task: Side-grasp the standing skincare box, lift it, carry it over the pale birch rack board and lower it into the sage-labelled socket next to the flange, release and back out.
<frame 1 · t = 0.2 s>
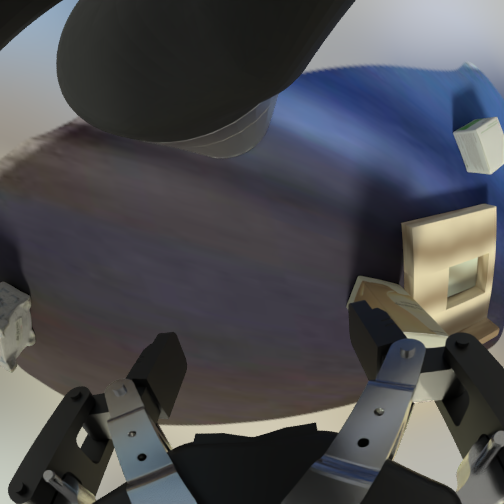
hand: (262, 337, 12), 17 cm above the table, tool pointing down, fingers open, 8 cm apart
skincare box: (371, 294, 31), on the table
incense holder: (24, 311, 33), on the table
small box: (470, 144, 25), on the table
rack: (448, 278, 30), on the table
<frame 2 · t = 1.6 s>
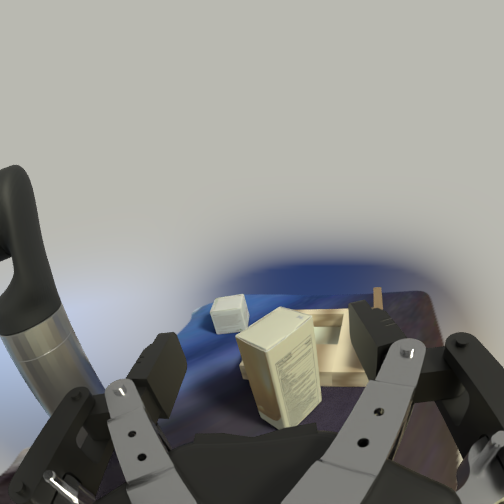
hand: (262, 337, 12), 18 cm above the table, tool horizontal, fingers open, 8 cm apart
skincare box: (290, 411, 27), on the table
small box: (233, 326, 50), on the table
rack: (319, 349, 37), on the table
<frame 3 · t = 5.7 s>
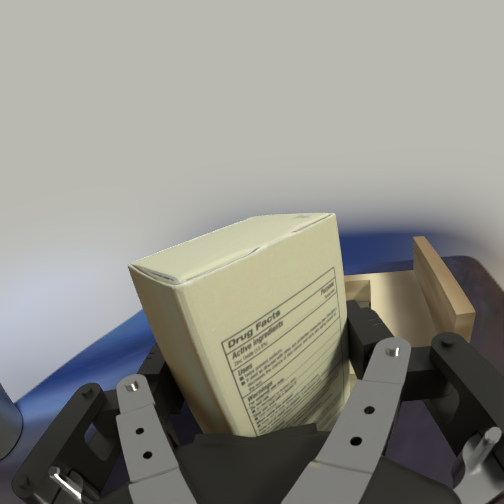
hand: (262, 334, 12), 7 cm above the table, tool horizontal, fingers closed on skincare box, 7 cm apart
skincare box: (286, 455, 12), on the table, touching gripper
rack: (336, 336, 22), on the table
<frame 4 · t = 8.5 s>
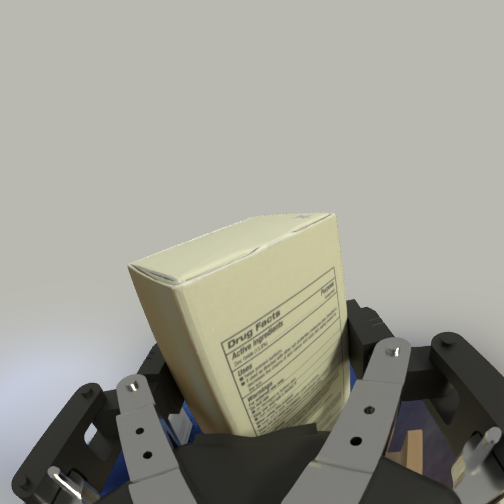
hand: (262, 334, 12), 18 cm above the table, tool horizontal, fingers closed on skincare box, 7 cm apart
skincare box: (286, 455, 12), point 11 cm above the table, touching gripper
small box: (167, 441, 26), on the table
when the fingers open (10 cm above the table, at t = 11.5 s): skincare box stays where it is, resting on rack.
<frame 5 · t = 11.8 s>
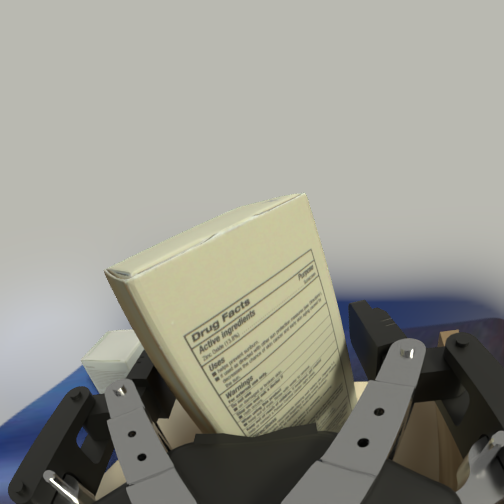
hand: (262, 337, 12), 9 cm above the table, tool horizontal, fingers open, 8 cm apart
skincare box: (296, 454, 11), point 2 cm above the table, touching gripper, rack
small box: (136, 385, 23), on the table
rack: (284, 493, 10), on the table
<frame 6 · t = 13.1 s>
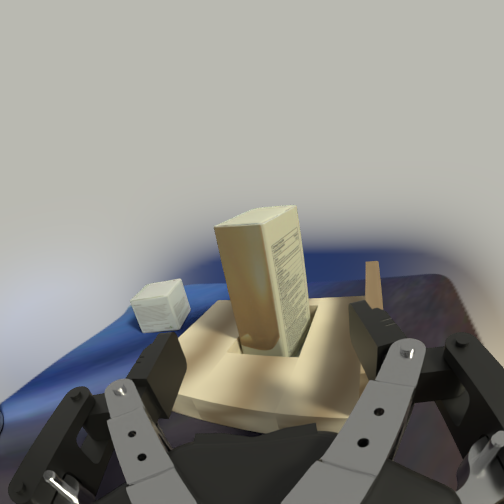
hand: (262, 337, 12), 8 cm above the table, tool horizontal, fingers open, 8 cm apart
skincare box: (279, 346, 25), resting on rack
small box: (167, 323, 35), on the table
rack: (274, 363, 22), on the table
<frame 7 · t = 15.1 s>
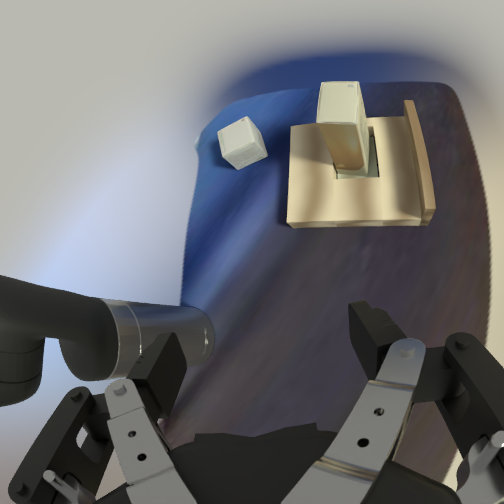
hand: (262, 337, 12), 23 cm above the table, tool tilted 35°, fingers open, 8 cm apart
skincare box: (354, 157, 35), resting on rack
small box: (249, 151, 43), on the table
rack: (357, 173, 34), on the table
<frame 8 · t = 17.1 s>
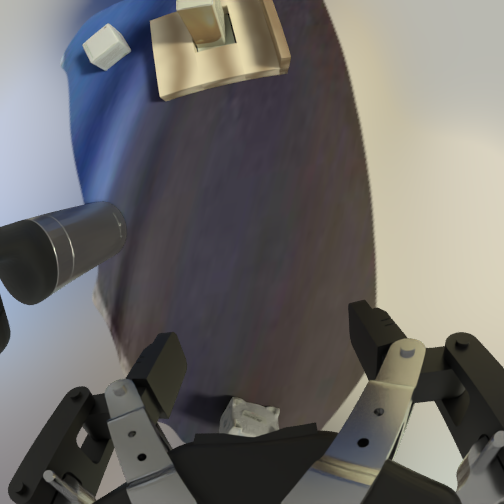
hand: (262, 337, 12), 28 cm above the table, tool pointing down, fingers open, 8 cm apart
skincare box: (211, 33, 31), resting on rack
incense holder: (250, 408, 49), on the table
small box: (113, 52, 32), on the table
rack: (216, 44, 32), on the table
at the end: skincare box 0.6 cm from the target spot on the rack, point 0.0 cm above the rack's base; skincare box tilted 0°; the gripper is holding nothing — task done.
